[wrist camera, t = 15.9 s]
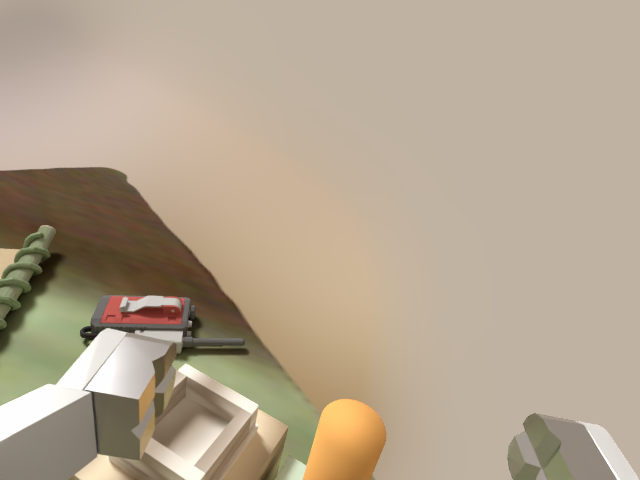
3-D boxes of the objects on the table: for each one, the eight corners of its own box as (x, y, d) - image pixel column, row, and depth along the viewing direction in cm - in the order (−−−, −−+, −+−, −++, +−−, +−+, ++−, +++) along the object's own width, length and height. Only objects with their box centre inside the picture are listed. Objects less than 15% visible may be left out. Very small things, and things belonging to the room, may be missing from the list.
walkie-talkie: (74, 356, 47) (244, 356, 53) (70, 327, 45) (247, 330, 51) (95, 308, 55) (242, 312, 60) (93, 282, 53) (245, 289, 58)
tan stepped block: (275, 479, 39) (295, 399, 34) (190, 620, 29) (199, 538, 24) (179, 419, 42) (183, 338, 37) (74, 526, 32) (59, 436, 27)
